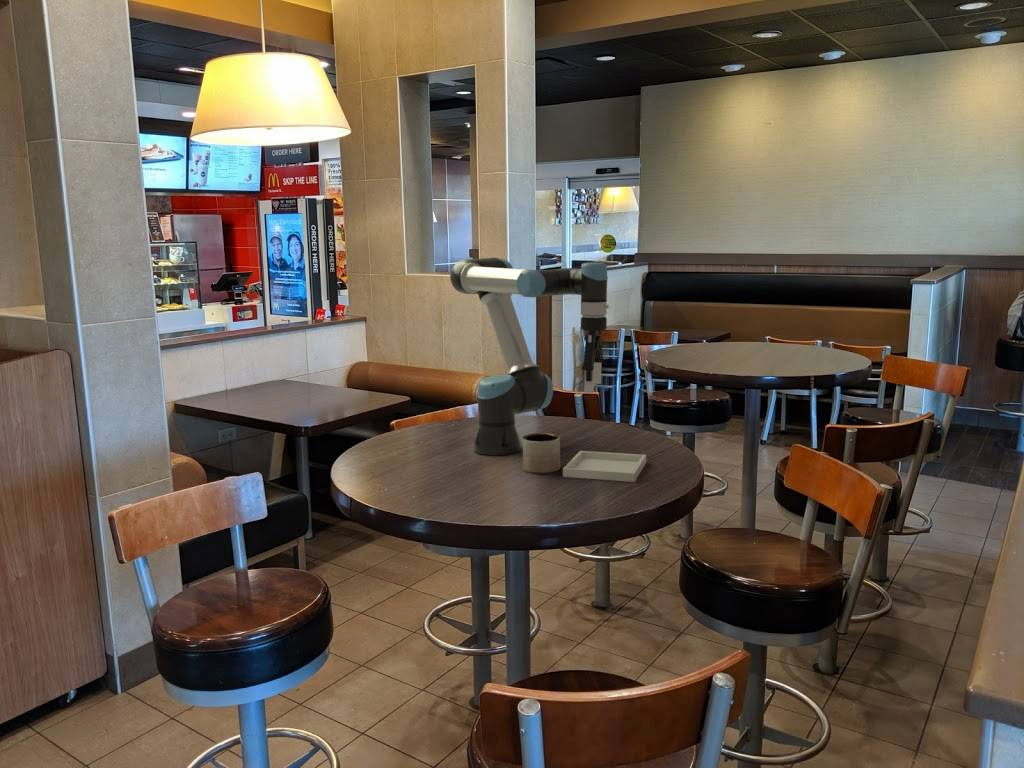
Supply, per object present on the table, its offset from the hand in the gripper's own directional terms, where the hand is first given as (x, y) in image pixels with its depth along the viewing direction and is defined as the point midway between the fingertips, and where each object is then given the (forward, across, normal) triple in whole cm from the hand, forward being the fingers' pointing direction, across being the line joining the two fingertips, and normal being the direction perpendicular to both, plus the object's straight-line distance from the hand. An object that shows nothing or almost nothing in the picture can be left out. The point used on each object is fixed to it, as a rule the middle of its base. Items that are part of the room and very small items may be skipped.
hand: (593, 387), depth 233 cm
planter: (+22, -13, +13) cm, 29 cm away
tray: (+22, -10, -6) cm, 25 cm away
